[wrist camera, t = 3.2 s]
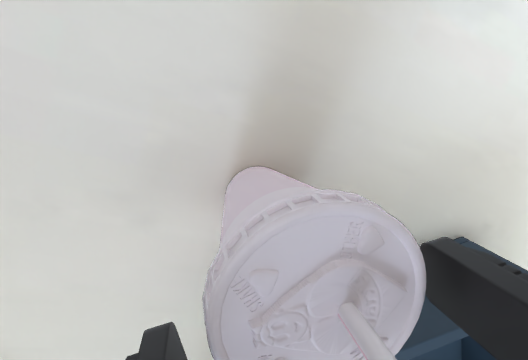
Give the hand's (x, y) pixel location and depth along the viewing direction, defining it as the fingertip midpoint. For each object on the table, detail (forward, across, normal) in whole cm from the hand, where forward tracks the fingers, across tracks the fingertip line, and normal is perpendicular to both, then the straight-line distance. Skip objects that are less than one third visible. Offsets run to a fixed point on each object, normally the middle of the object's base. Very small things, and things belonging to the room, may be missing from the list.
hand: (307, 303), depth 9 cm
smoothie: (+9, 0, -1) cm, 9 cm away
